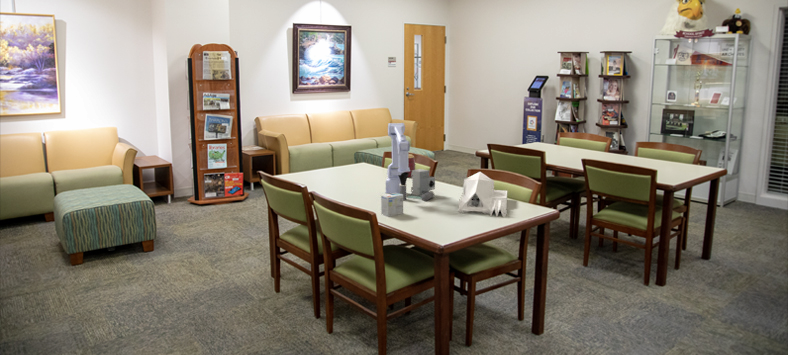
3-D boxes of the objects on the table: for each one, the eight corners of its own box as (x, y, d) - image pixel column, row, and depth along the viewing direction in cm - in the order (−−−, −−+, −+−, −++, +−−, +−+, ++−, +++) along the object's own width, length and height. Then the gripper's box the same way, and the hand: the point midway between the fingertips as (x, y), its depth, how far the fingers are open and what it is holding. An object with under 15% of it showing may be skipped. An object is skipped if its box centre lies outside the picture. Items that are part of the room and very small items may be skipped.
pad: (407, 197, 346) (407, 197, 346) (409, 195, 351) (409, 195, 351) (420, 198, 343) (420, 198, 343) (423, 197, 347) (423, 196, 347)
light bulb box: (396, 211, 315) (396, 192, 312) (403, 213, 309) (403, 194, 307) (380, 214, 308) (380, 194, 306) (388, 217, 303) (388, 197, 301)
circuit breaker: (429, 197, 346) (430, 173, 343) (411, 194, 355) (411, 170, 352) (436, 195, 351) (437, 171, 348) (418, 192, 360) (418, 168, 357)
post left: (398, 199, 340) (398, 184, 338) (400, 198, 344) (401, 183, 342) (404, 200, 339) (404, 185, 337) (407, 198, 342) (407, 183, 341)
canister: (395, 174, 416) (395, 150, 412) (412, 173, 419) (412, 150, 415) (399, 178, 403) (400, 153, 400) (417, 177, 406) (417, 152, 403)
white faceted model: (506, 217, 303) (508, 187, 300) (456, 215, 309) (457, 185, 305) (508, 199, 343) (509, 172, 340) (463, 197, 349) (464, 170, 345)
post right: (427, 194, 336) (434, 191, 344) (421, 193, 338) (428, 190, 346) (427, 201, 337) (434, 198, 344) (421, 200, 339) (428, 197, 347)
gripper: (405, 164, 321) (405, 188, 324) (414, 160, 334) (414, 183, 337) (393, 163, 324) (393, 187, 326) (403, 159, 337) (403, 182, 339)
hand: (403, 185), depth 332 cm, fingers closed
